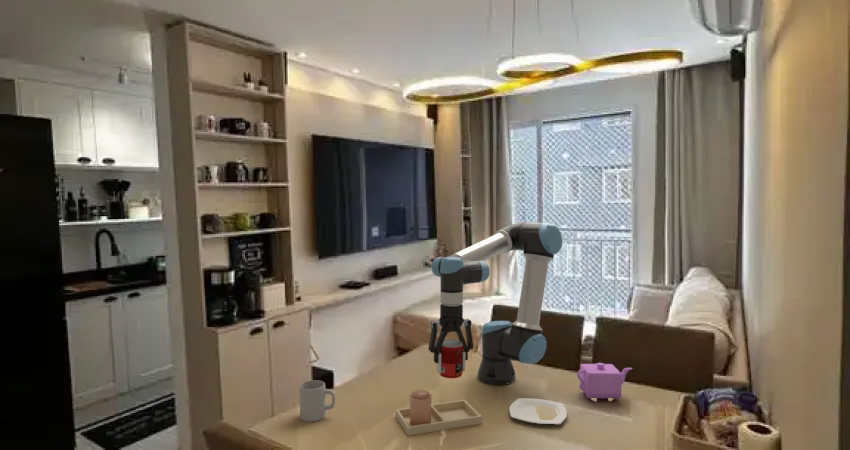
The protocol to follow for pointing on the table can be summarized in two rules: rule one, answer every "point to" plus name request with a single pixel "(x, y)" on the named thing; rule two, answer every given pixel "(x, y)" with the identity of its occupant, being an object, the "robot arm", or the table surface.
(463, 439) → the table surface
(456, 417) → the divided tray
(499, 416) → the table surface
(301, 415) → the mug
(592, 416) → the table surface
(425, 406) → the jar
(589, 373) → the teapot
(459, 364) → the canned food
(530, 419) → the plate
